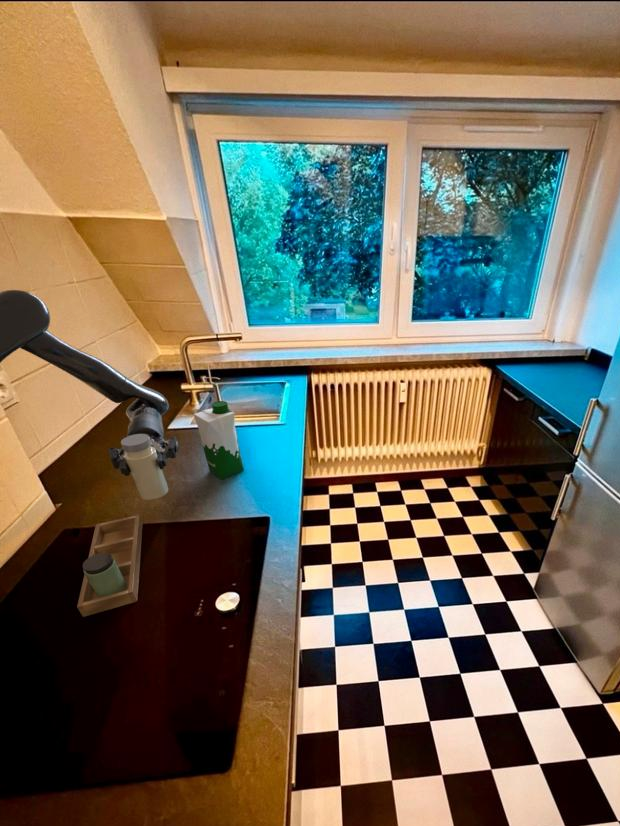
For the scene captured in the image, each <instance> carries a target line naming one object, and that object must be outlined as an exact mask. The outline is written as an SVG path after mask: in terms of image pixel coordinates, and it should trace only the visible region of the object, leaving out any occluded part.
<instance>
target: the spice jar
mask: <svg viewBox="0 0 620 826" xmlns="http://www.w3.org/2000/svg"><path fill="white" fill-rule="evenodd" d="M88 557H89V556H88ZM82 569H83V573H84V575H86V577H87V579H88V581H89V582H90V584H91V586H92V588H93V590H94V591H95V593H96V595H97V597H98V598H101V597H105V596H109V595H112V594H116V593H119V592H123V591H126V590H127V583H126V581H125V579H124V577H123V575H122V573H121V571H120V569H119V567H118V565H117V563H116V561H115V559H114V558H113V557H112V555H111V554H109V553H98V554H95V555H93V556H91V557H89V558H86V559H85V560H84V561H83V563H82Z"/></svg>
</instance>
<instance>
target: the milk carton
mask: <svg viewBox="0 0 620 826" xmlns="http://www.w3.org/2000/svg"><path fill="white" fill-rule="evenodd" d="M235 413H236V412H234V411H232V410H231V409H230V408H229V404H228V402H227V401H225V400H219V401H214V402H213V403H211V408H207V409H203V410H202V411H199V412H196V413H193V416H194V419H195V422H196V423H195V424H196V426H197V430H198V432H199V436H200V441H201V444H202V448H203V452H204V455H205V460H206V463H207V466H208V470H209V472H211V473H212V474H213V475H215V476H216V477H217V478H219V479H220V480H225V479H227V478H230V477H231V476H234V475H236V474H238V473H240V472H242V471H245V468H244V464H243V460H242V454H241V451H240V446H239V439H238V435H237V430H236V419H235V417H236V415H235Z"/></svg>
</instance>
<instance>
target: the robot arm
mask: <svg viewBox="0 0 620 826" xmlns="http://www.w3.org/2000/svg"><path fill="white" fill-rule="evenodd" d="M50 324H51V314H50V311H49V308H48V306H47V305H46V303H45V302H44V301H43V300H42V299H41V298H40V297H38V296H37V295H35V294H33V293H31V292H29V291H25V290H20V289H6V290H2V291H0V364H1V363H2V362H3V361H4V360H5V359H6V358H8V357H9V356H10V355H12V354H13V353H14V352H16V351H17V350H19V349H21V350H23V351H25V352H27V353H29V354H31V355H34V356H35V357H37V358H39V359H41V360H43V361H45V362H47V363H49V364H51V365H53V366H54V367H57V368H58V369H60V370H61V371H64V372H65V373H67V374H69V375H70V376H72V377H73V378H76V379H77V380H78V381H80V382H81V383H83V384H85V385H86V386H88V387H90V388H91V389H92V390H94V391H95V392H97V393H99V394H100V395H102V396H103V397H105V398H106V399H108V400H109V401H110V402H113V403H115V404H121V403H123V402H126V401H128V400H130V399H134V398H135V400H134V401H133V402H132V403H130V405H129V406H128V407H127V408H126V410H125V415H126V417H127V418H128V419H129V424H128V427H127V433H126V437H128V436H131V435H135V434H147V435H149V437H150V440H151V443H152V444H151V446H152V447H154V448H155V450H156V453H157V462H158V465H159V468H160V469H162V470H164V469H165V467H167V466H168V459H169V458H170V459H176V458H177V456H178V452H179V448H180V445H179V442H178V438H177V436H171V437H170V438H169V439H168V440H165V431H164V426H163V418H162V417H163V415H164V414H165V413H167V411H168V410H169V407H170V404H169V401H168V399H167V398H166V397H165V396H164V395H163V394H162V393H161V392H159V391H157V390H155V389H152V388H150V387H147V386H144V385H142V384H140V383H138V382H135V381H134V380H132V379H130V378H128V377H127V376H125V375H124V374H123V373H121V372H120V371H118V370H117V369H116V368H115V367H113V366H112V365H110V364H108V363H107V362H106V361H104V360H102V359H100V358H98V357H96V356H94V355H92V354H89V353H87V352H85V351H83V350H80V349H78V348H77V347H74V346H72V345H70V344H68V343H67V342H65V341H64V340H62V339H60V337H59V338H58V337H57V336H56V335H54V334H53V333H52V332H50V331H49V330H48V329H49V328H50ZM108 453H109V454H108V455H109V459H110V462H111V464H112V466H113V468H114V469H115V470H117V469H119V471H120V473H121V475H124V477H128V476H130V475H131V472H130V470H129V467H128V465H127V462H126V460H125V457H124V455H125V453H126V451H124V450H123V447H121V448H116V447H115V446H111V447H109V448H108Z"/></svg>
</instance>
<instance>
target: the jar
mask: <svg viewBox="0 0 620 826" xmlns="http://www.w3.org/2000/svg"><path fill="white" fill-rule="evenodd" d="M151 444H152V443H151V440H150V437H149V435H147V434H135V435H131V436H128V437H127V436H125V437H124V438H122V439H121V441H120V445H121V448H123V450H124V451H126V453H125V455H124V457H125V460H126V462H127V465H128V467H129V470H130V475H131V477H132V480H133V482H134V483H133V484H134V485H135V488H136V490H137V493H138V495H139V497H140V498H141V499H142V500H144V501H145V500H146V501H152V500H157V499H160V498H162V497H164V496H166V494H168V492H169V490H170V489H169V486H168V483H167V479H166V477H165V474H164V471H163V470H164V469H160V468H159V465H158V462H157V453H156V450H155V448H154V447H152V446H151Z"/></svg>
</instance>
